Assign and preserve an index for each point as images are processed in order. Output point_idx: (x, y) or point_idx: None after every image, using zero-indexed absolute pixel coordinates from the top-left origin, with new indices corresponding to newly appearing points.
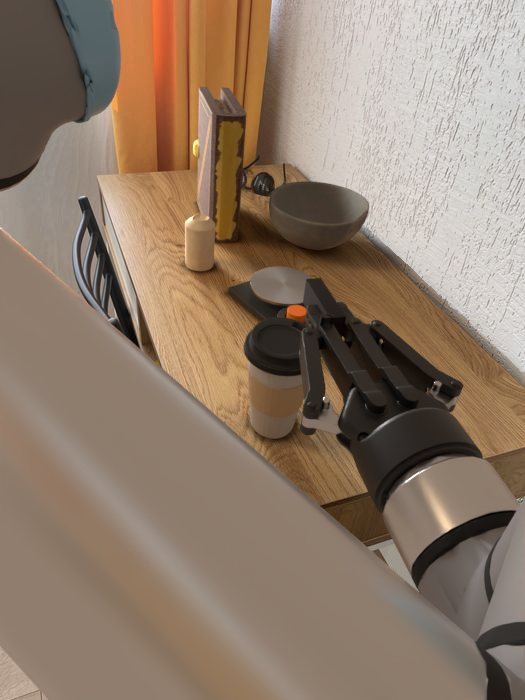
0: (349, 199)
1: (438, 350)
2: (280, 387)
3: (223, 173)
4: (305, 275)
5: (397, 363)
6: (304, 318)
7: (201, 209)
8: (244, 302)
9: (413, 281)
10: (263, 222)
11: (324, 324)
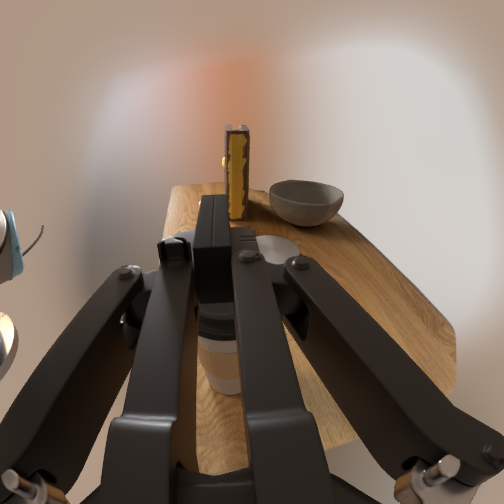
0: (330, 192)
1: (398, 307)
2: (216, 351)
3: (233, 169)
4: (290, 242)
5: (338, 373)
6: None
7: None
8: None
9: (378, 251)
10: (269, 209)
11: (169, 260)
